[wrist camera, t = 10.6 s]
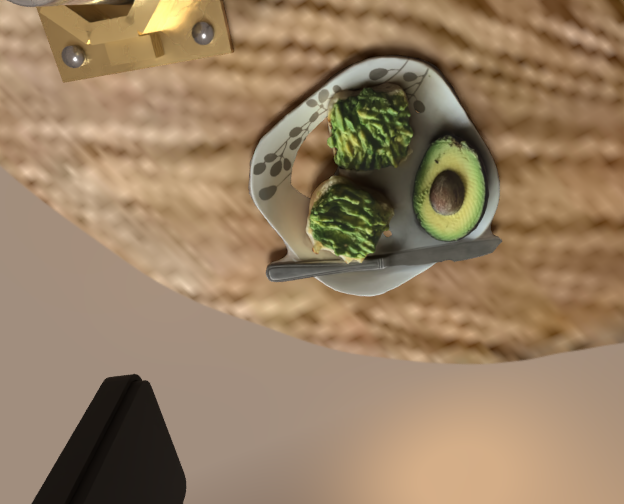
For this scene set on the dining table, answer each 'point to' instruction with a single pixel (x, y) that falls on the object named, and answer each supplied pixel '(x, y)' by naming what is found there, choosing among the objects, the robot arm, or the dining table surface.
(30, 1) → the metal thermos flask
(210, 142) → the dining table surface
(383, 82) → the avocado toast plate
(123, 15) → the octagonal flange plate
